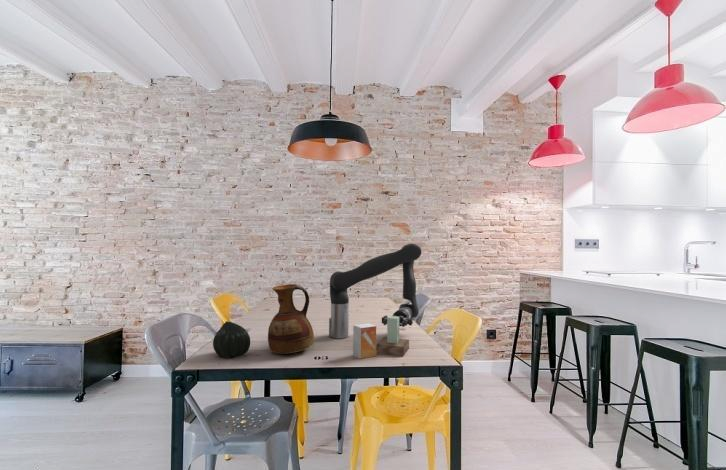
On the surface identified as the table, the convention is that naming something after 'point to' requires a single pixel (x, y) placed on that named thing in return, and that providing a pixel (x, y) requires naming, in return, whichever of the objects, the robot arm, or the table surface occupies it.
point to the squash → (231, 340)
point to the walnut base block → (393, 347)
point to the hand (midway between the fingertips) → (393, 323)
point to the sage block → (392, 329)
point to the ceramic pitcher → (290, 323)
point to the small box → (364, 340)
